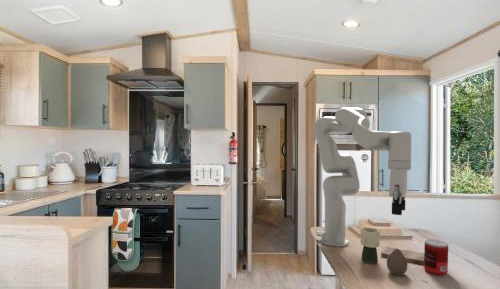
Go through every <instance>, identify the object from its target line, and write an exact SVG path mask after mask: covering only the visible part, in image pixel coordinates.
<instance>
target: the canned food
mask: <svg viewBox="0 0 500 289" xmlns="http://www.w3.org/2000/svg"><path fill="white" fill-rule="evenodd" d="M423 247H424V251H423V253H424V265H423V268H424V269H423V270H425V272H426V273H428V274H430V275H434V276H439V277H441V276H446V275H447V274H448V271H449V269H448V268H449V267H448V266H449V243H447V242H446V241H444V240H440V239H435V238H433V239H431V238H429V239H425V240H424V246H423Z"/></svg>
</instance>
